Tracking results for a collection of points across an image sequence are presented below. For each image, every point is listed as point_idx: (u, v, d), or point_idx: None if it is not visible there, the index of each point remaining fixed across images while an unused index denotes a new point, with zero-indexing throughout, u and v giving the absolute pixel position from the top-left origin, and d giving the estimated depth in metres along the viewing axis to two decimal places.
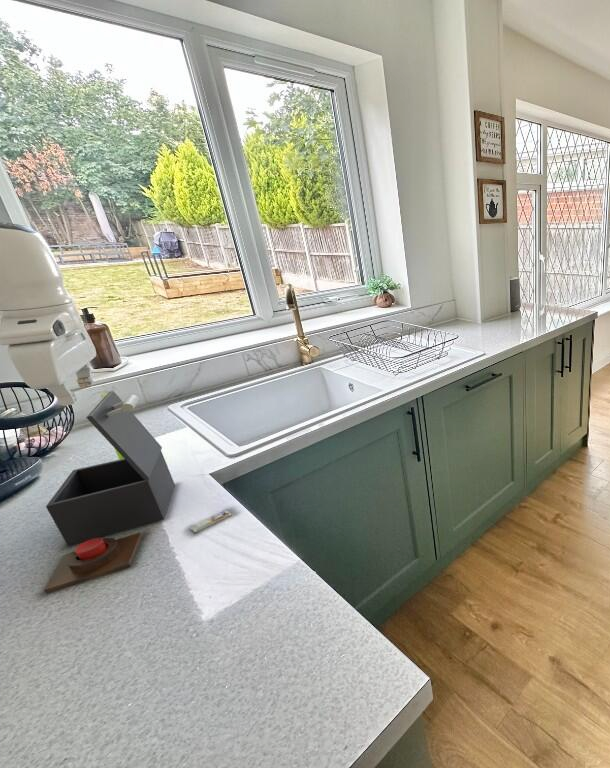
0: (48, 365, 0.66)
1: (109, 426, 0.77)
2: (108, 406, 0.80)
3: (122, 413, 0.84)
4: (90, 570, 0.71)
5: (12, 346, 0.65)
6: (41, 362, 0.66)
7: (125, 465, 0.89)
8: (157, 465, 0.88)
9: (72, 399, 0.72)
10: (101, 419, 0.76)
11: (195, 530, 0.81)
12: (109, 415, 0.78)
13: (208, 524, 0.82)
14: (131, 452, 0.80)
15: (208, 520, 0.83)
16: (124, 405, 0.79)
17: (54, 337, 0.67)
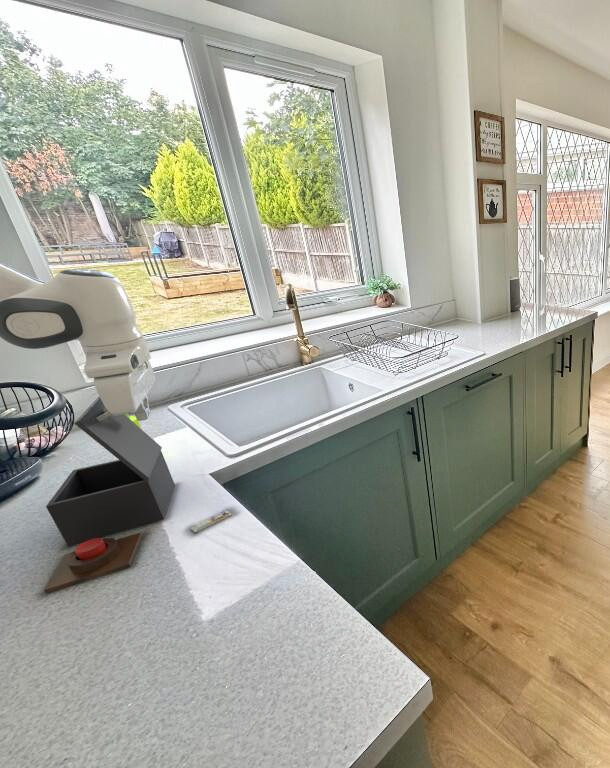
0: (127, 395, 0.76)
1: (99, 430, 0.77)
2: (98, 410, 0.80)
3: (114, 416, 0.83)
4: (90, 570, 0.71)
5: (97, 378, 0.74)
6: (121, 392, 0.75)
7: (125, 465, 0.89)
8: (157, 465, 0.88)
9: (146, 415, 0.85)
10: (90, 424, 0.75)
11: (195, 530, 0.81)
12: (99, 419, 0.78)
13: (208, 524, 0.82)
14: (127, 454, 0.80)
15: (207, 520, 0.83)
16: None
17: (132, 370, 0.76)
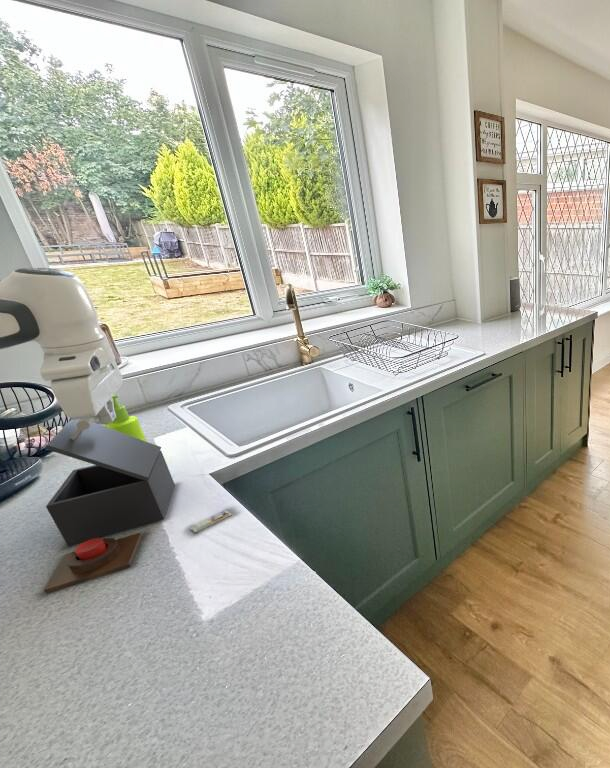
0: (86, 398, 0.73)
1: (76, 447, 0.76)
2: (71, 431, 0.79)
3: (94, 432, 0.82)
4: (90, 570, 0.71)
5: (54, 381, 0.71)
6: (80, 395, 0.72)
7: None
8: (157, 465, 0.88)
9: (111, 418, 0.82)
10: (63, 445, 0.74)
11: (195, 530, 0.81)
12: (73, 438, 0.77)
13: (208, 524, 0.82)
14: (116, 462, 0.79)
15: (208, 520, 0.83)
16: (78, 424, 0.77)
17: (91, 372, 0.73)
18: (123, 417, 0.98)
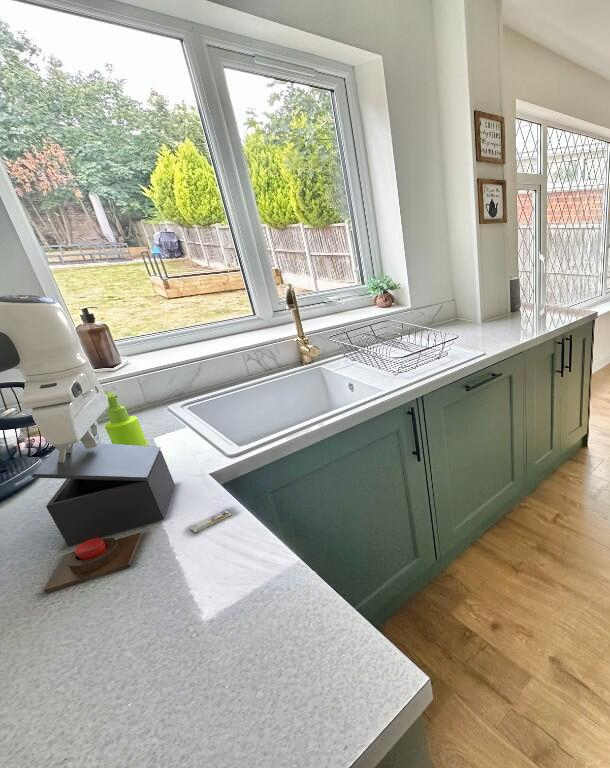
0: (68, 425, 0.73)
1: (65, 468, 0.76)
2: (59, 455, 0.79)
3: (84, 450, 0.83)
4: (90, 570, 0.71)
5: (35, 409, 0.71)
6: (61, 422, 0.72)
7: None
8: (157, 465, 0.88)
9: (95, 442, 0.82)
10: (51, 469, 0.75)
11: (195, 530, 0.81)
12: (61, 461, 0.77)
13: (208, 524, 0.82)
14: (110, 471, 0.79)
15: (208, 520, 0.83)
16: (57, 447, 0.76)
17: (73, 399, 0.73)
18: (123, 417, 0.98)
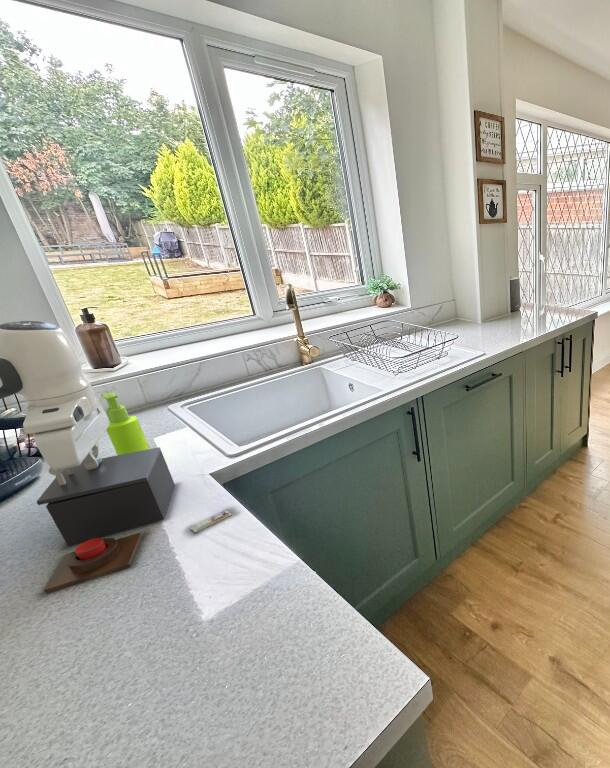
0: (70, 449, 0.74)
1: (67, 489, 0.77)
2: None
3: None
4: (90, 570, 0.71)
5: (38, 434, 0.72)
6: (63, 447, 0.74)
7: None
8: (157, 465, 0.88)
9: (96, 464, 0.83)
10: (54, 493, 0.76)
11: (195, 530, 0.81)
12: (62, 483, 0.78)
13: (208, 524, 0.82)
14: (111, 481, 0.80)
15: (207, 520, 0.83)
16: (50, 472, 0.77)
17: (74, 423, 0.75)
18: (123, 417, 0.98)
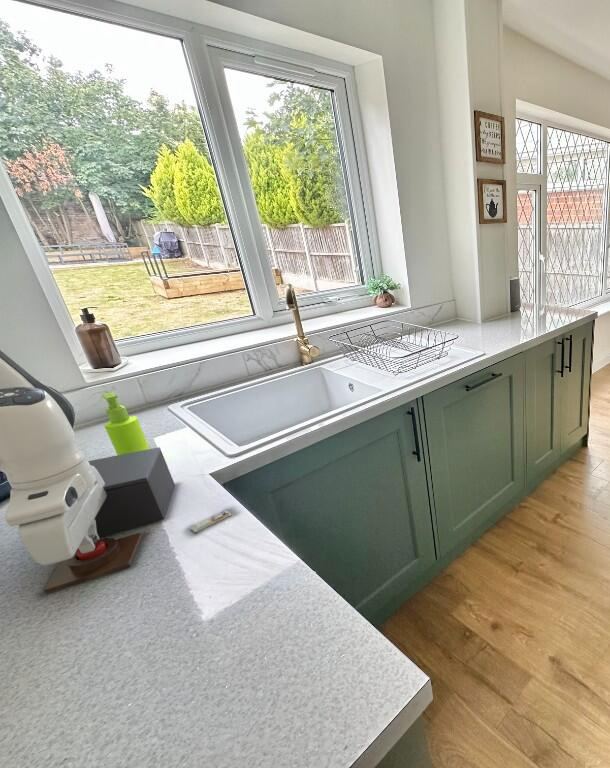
0: (61, 541, 0.63)
1: None
2: None
3: None
4: (90, 570, 0.71)
5: (22, 525, 0.61)
6: (53, 539, 0.62)
7: None
8: (157, 465, 0.88)
9: (92, 546, 0.72)
10: None
11: (195, 530, 0.81)
12: None
13: (208, 524, 0.82)
14: (111, 481, 0.80)
15: (207, 520, 0.83)
16: None
17: (66, 510, 0.63)
18: (123, 417, 0.98)
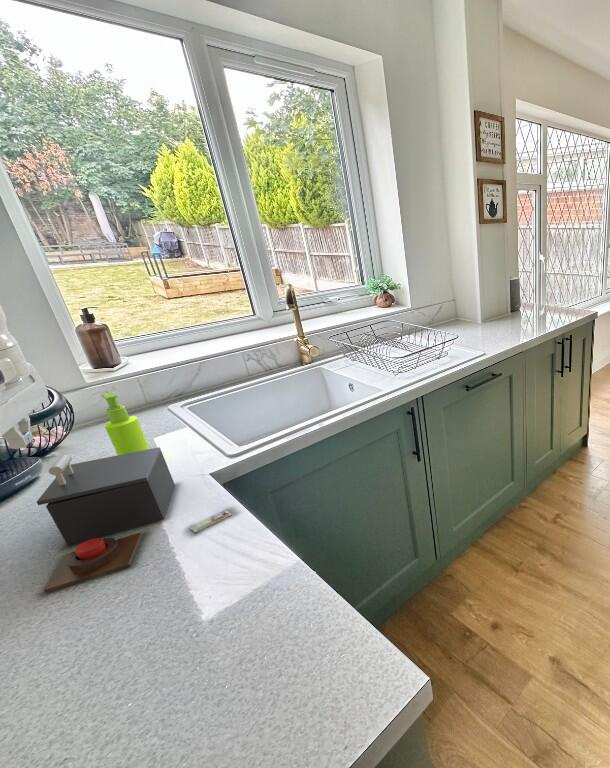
0: None
1: (67, 489, 0.77)
2: None
3: (86, 468, 0.84)
4: (90, 570, 0.71)
5: None
6: None
7: None
8: (157, 465, 0.88)
9: (24, 442, 0.69)
10: (54, 493, 0.76)
11: (195, 530, 0.81)
12: (62, 484, 0.78)
13: (208, 524, 0.82)
14: (111, 481, 0.80)
15: (207, 520, 0.83)
16: (50, 472, 0.77)
17: None
18: (123, 417, 0.98)
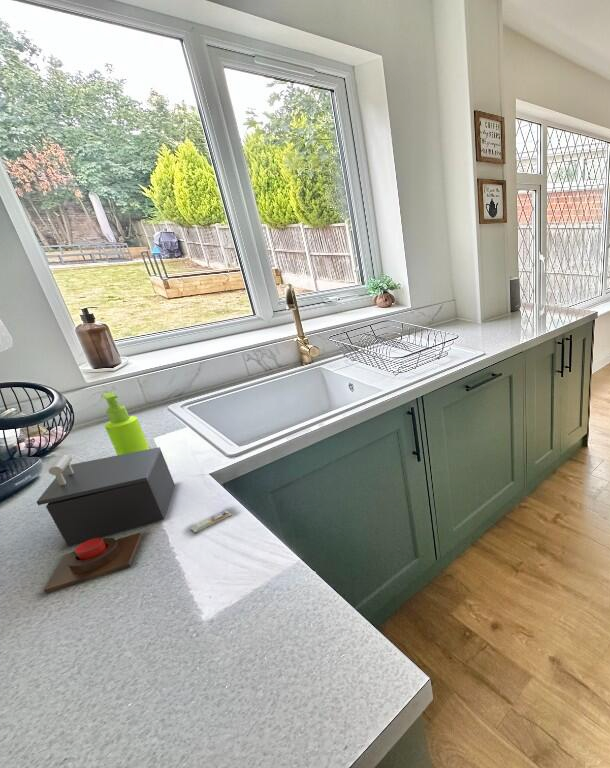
0: None
1: (67, 489, 0.77)
2: None
3: (86, 468, 0.84)
4: (90, 570, 0.71)
5: None
6: None
7: None
8: (157, 465, 0.88)
9: None
10: (54, 493, 0.76)
11: (195, 530, 0.81)
12: (62, 484, 0.78)
13: (208, 524, 0.82)
14: (111, 481, 0.80)
15: (207, 520, 0.83)
16: (50, 472, 0.77)
17: None
18: (123, 417, 0.98)
